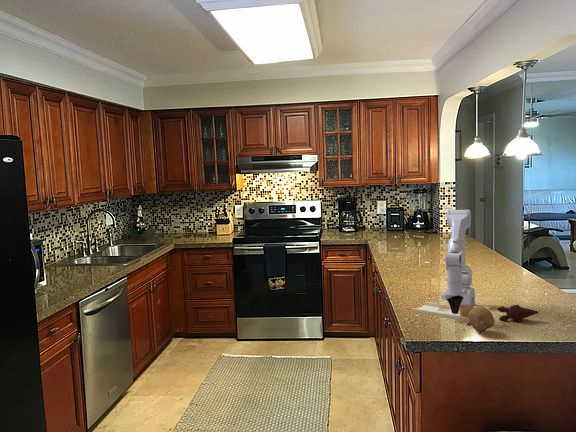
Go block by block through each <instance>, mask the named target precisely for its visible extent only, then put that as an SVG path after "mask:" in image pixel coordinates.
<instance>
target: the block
mask: <svg viewBox="0 0 576 432" xmlns="http://www.w3.org/2000/svg"><path fill="white" fill-rule="evenodd" d="M474 306H475V305H472V304H460V311H459V314H460V316H464V317H469V312H470V311H471V310H472V309H473V308H475V307H474Z"/></svg>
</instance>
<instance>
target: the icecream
mask: <svg viewBox="0 0 576 432" xmlns="http://www.w3.org/2000/svg"><path fill="white" fill-rule="evenodd" d="M497 311H498V312H501V313H505V315H501V316H499V318H498V319H499V321H501V322H505V321H508V320H512V321H514V322H522V321H523V320H524V319H528V318H529V317H531V316H535V315H538V314H539V313H540V312H539V311H538V310H533V309H530V308H527V307H522V306H520V305H519V304H514V305H511V306H510V307H505V306H499V307H497Z"/></svg>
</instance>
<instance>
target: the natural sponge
mask: <svg viewBox="0 0 576 432" xmlns="http://www.w3.org/2000/svg"><path fill="white" fill-rule="evenodd" d="M469 320H470V323H471V325H472V326H471V327H472V329H474V330H475V332H478V333H483V332H485V331H487V330H488V329H491V328H492V327H493V326H494V325H495V318H494V315H493V313H492V311H491V310H490V309H488V308H487V307H485V306H482V305H480V306H475V307H474V308H473V309H472V310H471V311H470V312H469Z"/></svg>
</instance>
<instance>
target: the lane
mask: <svg viewBox="0 0 576 432" xmlns="http://www.w3.org/2000/svg"><path fill="white" fill-rule="evenodd" d="M440 309H444V311H443V310H440ZM445 309H446V311H445ZM458 312H460V307H459V311H458ZM411 313H413V314H414V313H415V314H421V315H426V316H432V317H438V318H445V319H450V320H456V321H462V322H467V323H466V324H465V326H470V327H472V325H471V323H470V320H469V317H464V316H460V313H458V314H453V313H452V311H451V308H450V305H449V304H443V303H438V302H437V303H436V302H432V301H431V302H430V301H424V302H423V305H421V306H420V307H419V308H417V307H416V308H415V307H412V308H411Z"/></svg>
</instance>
